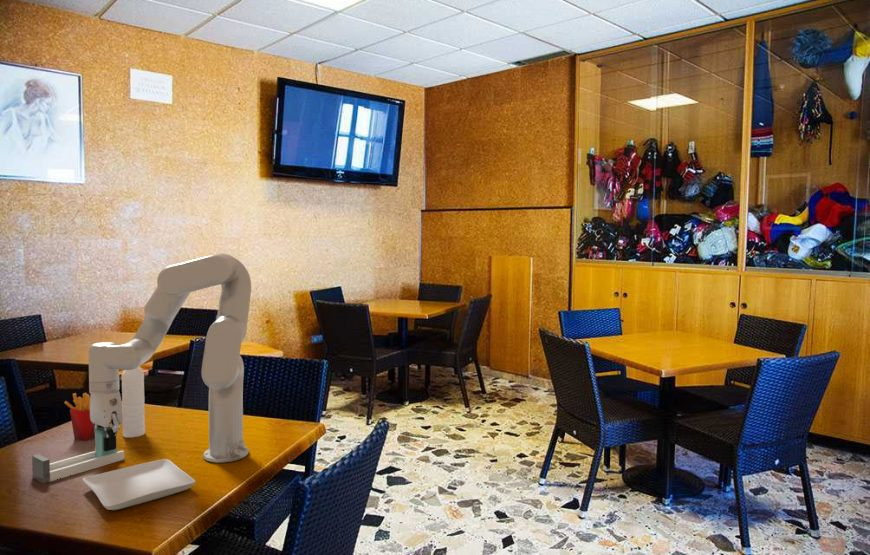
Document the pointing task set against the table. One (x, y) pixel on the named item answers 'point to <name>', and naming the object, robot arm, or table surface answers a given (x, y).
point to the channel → (70, 465)
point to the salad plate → (138, 484)
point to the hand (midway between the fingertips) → (105, 447)
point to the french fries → (81, 418)
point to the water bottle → (133, 403)
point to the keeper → (101, 443)
